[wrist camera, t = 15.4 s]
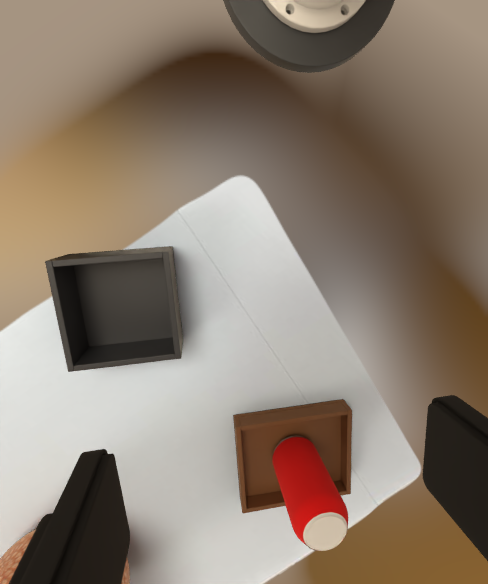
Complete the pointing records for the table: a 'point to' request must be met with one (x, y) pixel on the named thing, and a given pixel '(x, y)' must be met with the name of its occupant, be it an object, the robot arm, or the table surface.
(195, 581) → the table surface
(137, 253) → the bin
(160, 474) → the table surface
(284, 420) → the tray
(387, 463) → the table surface
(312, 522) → the beverage can
